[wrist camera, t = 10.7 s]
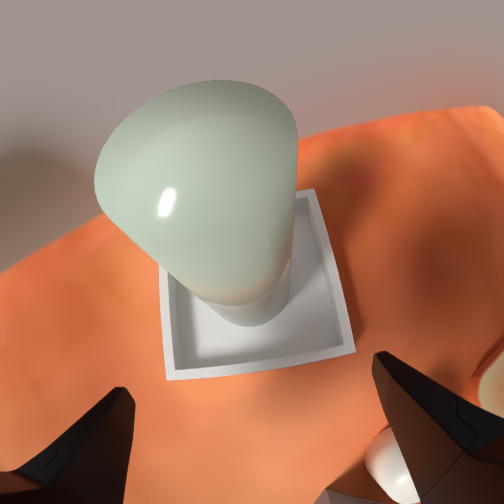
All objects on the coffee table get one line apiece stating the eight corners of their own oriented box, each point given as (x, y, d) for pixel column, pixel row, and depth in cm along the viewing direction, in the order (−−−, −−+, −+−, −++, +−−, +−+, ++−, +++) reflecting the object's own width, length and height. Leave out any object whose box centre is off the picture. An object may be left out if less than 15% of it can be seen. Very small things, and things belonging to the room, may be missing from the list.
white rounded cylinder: (434, 435, 13) (468, 446, 9) (398, 486, 12) (424, 510, 8) (390, 413, 14) (419, 424, 10) (351, 467, 13) (370, 493, 9)
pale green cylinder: (297, 258, 19) (312, 87, 7) (277, 335, 17) (265, 264, 5) (223, 242, 20) (151, 82, 8) (199, 314, 18) (63, 215, 6)
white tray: (348, 353, 16) (355, 352, 15) (178, 379, 17) (166, 380, 15) (311, 203, 21) (314, 188, 19) (168, 230, 21) (158, 217, 19)
